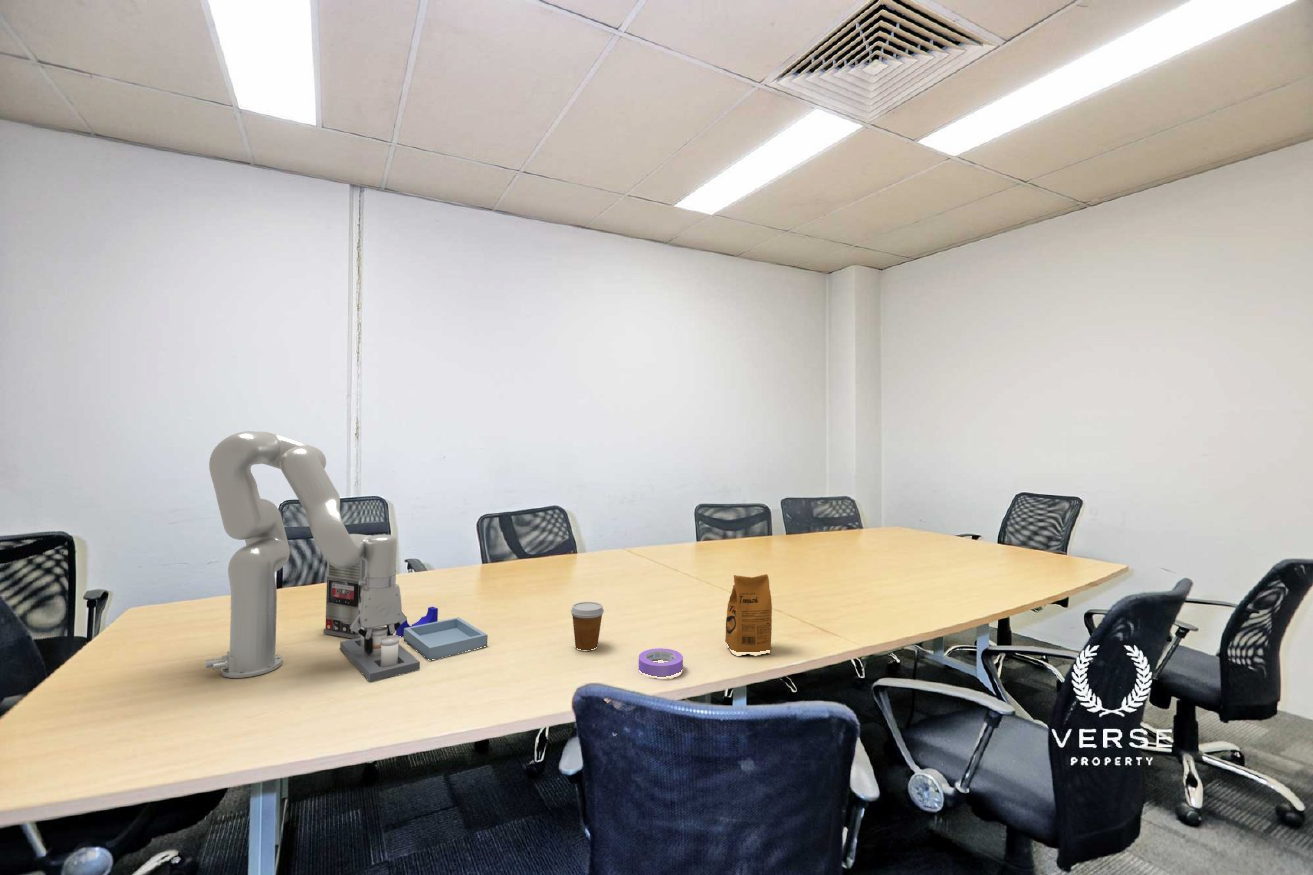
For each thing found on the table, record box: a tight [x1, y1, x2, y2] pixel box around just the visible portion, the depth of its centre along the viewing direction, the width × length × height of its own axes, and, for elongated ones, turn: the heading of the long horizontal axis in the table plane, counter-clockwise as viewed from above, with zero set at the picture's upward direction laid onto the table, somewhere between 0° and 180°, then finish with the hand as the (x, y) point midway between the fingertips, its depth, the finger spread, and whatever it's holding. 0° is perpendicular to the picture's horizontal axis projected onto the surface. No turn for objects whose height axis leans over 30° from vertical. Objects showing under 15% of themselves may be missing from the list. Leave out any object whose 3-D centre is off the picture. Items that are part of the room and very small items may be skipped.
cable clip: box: [395, 606, 439, 638], centre depth 173 cm, size 12×4×6 cm, turn 145°
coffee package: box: [724, 573, 773, 652], centre depth 163 cm, size 10×12×22 cm
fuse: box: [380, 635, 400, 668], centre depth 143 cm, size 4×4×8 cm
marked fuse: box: [370, 626, 388, 657], centre depth 150 cm, size 4×4×8 cm
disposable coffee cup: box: [570, 601, 605, 650], centre depth 162 cm, size 10×10×12 cm
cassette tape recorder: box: [322, 560, 365, 639], centre depth 168 cm, size 14×6×25 cm, turn 71°
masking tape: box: [638, 647, 684, 677], centre depth 147 cm, size 12×12×4 cm
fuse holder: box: [339, 638, 421, 683], centre depth 150 cm, size 12×28×2 cm, turn 43°
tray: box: [403, 616, 489, 661], centre depth 162 cm, size 16×20×4 cm
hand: (378, 649), depth 150 cm, fingers closed on marked fuse, 4 cm apart
